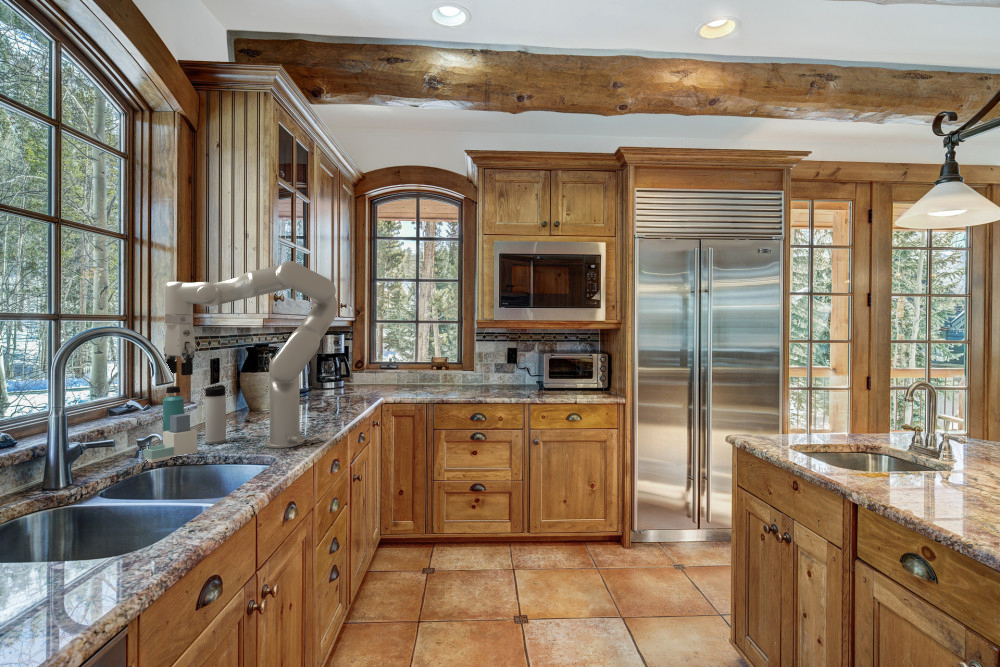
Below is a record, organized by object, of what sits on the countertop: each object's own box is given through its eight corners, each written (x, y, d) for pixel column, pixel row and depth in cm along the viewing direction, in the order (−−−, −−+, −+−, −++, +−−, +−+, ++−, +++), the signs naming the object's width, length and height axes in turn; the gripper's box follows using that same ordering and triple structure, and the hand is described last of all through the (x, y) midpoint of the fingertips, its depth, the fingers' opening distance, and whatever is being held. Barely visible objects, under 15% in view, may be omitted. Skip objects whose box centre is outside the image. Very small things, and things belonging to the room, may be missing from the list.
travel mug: (230, 440, 173) (230, 385, 173) (218, 445, 166) (217, 387, 166) (214, 440, 174) (213, 384, 173) (201, 444, 167) (200, 387, 167)
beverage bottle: (182, 444, 168) (182, 387, 167) (160, 446, 165) (159, 387, 165) (187, 440, 174) (186, 385, 173) (165, 442, 171) (164, 385, 171)
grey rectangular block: (190, 439, 155) (189, 414, 155) (176, 442, 152) (176, 416, 152) (183, 438, 157) (183, 413, 157) (170, 440, 154) (170, 415, 154)
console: (197, 453, 156) (197, 430, 156) (151, 462, 145) (151, 437, 145) (186, 450, 159) (186, 427, 159) (141, 459, 148) (140, 435, 148)
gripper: (205, 320, 153) (205, 374, 153) (178, 321, 162) (178, 372, 162) (180, 320, 146) (180, 376, 147) (152, 320, 155) (152, 373, 156)
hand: (179, 374), depth 154 cm, fingers open, 9 cm apart
